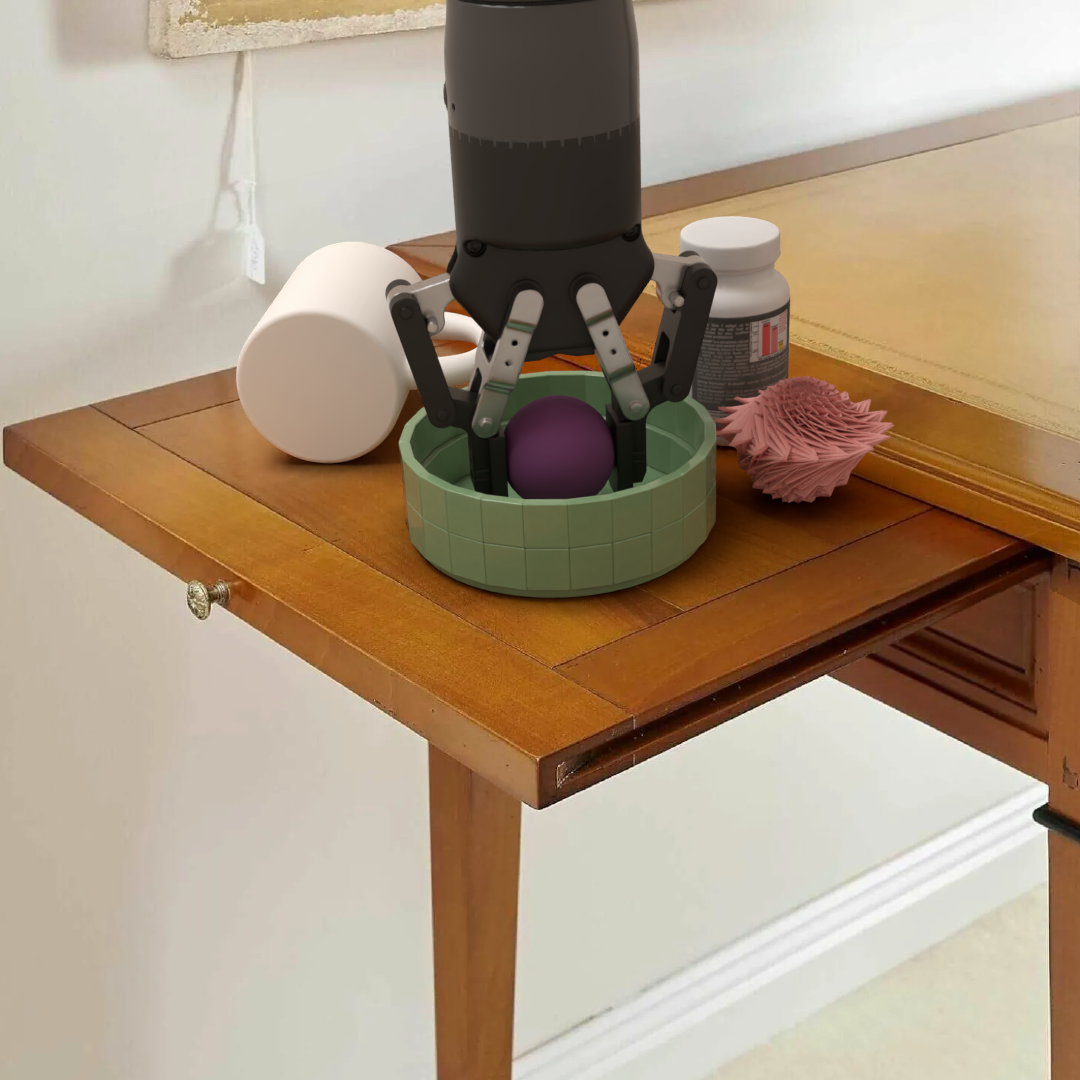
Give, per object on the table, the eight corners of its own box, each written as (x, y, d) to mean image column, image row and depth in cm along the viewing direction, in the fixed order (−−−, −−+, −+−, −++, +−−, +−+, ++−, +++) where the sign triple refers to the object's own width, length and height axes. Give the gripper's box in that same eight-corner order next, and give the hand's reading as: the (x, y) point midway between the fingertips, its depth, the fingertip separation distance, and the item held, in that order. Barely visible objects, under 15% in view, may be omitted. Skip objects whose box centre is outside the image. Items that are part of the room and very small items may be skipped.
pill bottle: (810, 422, 81) (818, 227, 76) (736, 460, 77) (739, 259, 72) (721, 392, 84) (723, 205, 80) (647, 428, 81) (644, 234, 76)
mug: (246, 464, 79) (223, 309, 75) (294, 383, 88) (276, 240, 84) (491, 465, 78) (480, 307, 74) (514, 383, 87) (506, 238, 83)
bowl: (672, 443, 79) (671, 356, 77) (753, 578, 67) (755, 481, 65) (393, 476, 77) (385, 388, 75) (427, 621, 66) (418, 522, 63)
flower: (789, 441, 79) (793, 333, 76) (925, 493, 73) (934, 378, 71) (674, 495, 74) (673, 382, 72) (809, 554, 69) (814, 435, 66)
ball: (603, 473, 74) (599, 371, 72) (627, 522, 70) (625, 416, 68) (495, 486, 74) (488, 384, 71) (513, 537, 69) (506, 430, 67)
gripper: (368, 149, 59) (407, 557, 67) (748, 114, 61) (741, 515, 69) (352, 102, 66) (389, 479, 74) (696, 72, 68) (695, 443, 76)
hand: (559, 495), depth 72 cm, fingers closed on ball, 5 cm apart
